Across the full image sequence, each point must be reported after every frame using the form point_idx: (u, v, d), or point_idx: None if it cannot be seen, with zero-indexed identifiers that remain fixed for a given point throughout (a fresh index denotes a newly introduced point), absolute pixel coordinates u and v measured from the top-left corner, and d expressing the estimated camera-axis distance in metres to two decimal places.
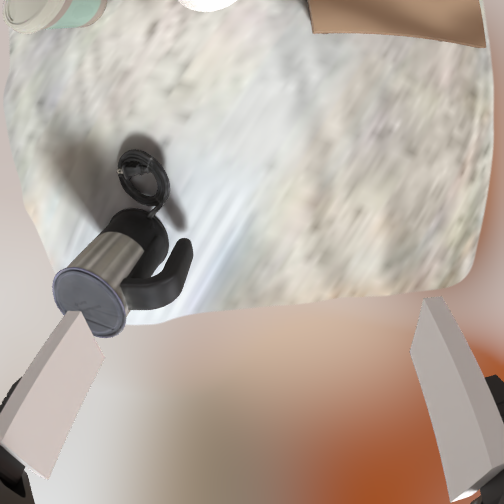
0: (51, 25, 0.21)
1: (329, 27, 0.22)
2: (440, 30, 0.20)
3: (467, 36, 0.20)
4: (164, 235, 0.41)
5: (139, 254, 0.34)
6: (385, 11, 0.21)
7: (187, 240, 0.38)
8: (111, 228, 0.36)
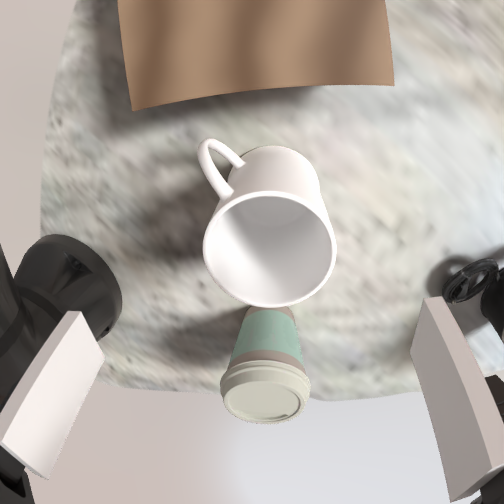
0: None
1: (388, 66, 0.17)
2: None
3: None
4: None
5: None
6: None
7: None
8: (500, 322, 0.29)
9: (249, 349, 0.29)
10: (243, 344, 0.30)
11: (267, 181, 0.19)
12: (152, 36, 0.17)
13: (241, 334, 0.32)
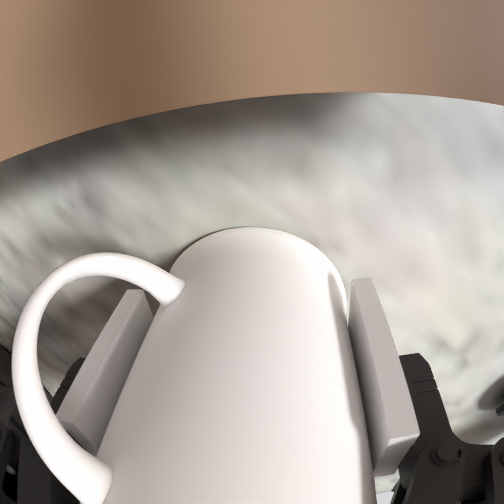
0: None
1: None
2: None
3: None
4: None
5: None
6: None
7: None
8: None
9: None
10: None
11: (201, 497, 0.04)
12: None
13: None
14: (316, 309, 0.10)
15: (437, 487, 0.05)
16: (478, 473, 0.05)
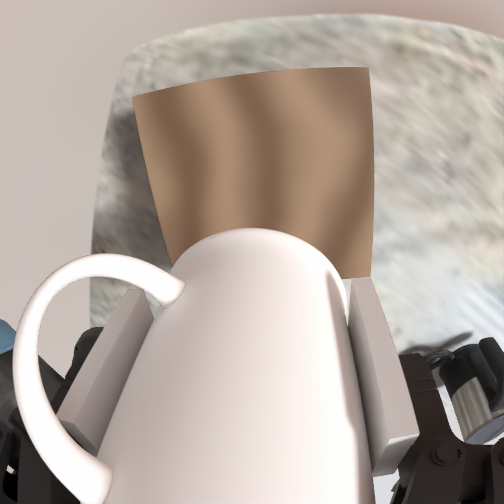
0: None
1: (367, 264, 0.28)
2: (362, 139, 0.22)
3: (360, 97, 0.21)
4: (469, 348, 0.41)
5: (477, 383, 0.35)
6: (348, 207, 0.25)
7: (482, 342, 0.36)
8: (450, 391, 0.39)
9: None
10: None
11: (200, 497, 0.04)
12: (189, 240, 0.28)
13: None
14: (316, 310, 0.10)
15: (436, 487, 0.05)
16: (477, 473, 0.05)
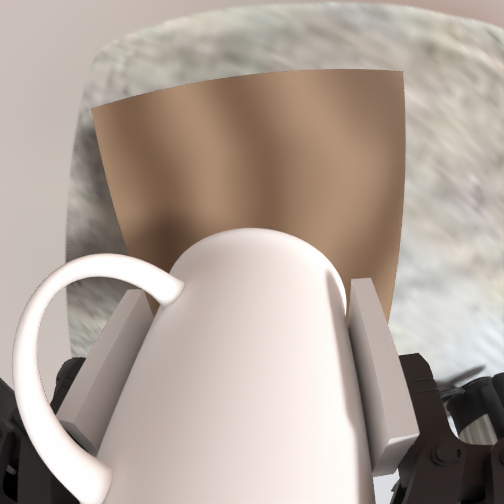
0: None
1: (385, 316, 0.22)
2: (391, 167, 0.17)
3: (391, 110, 0.15)
4: (481, 381, 0.35)
5: (488, 421, 0.30)
6: (367, 253, 0.20)
7: (495, 378, 0.31)
8: (458, 427, 0.34)
9: None
10: None
11: (200, 498, 0.04)
12: None
13: None
14: (316, 310, 0.10)
15: (436, 487, 0.05)
16: (477, 474, 0.05)
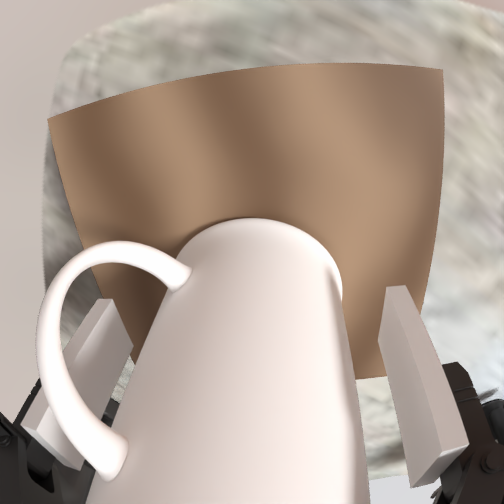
0: None
1: None
2: (424, 192, 0.13)
3: (428, 120, 0.11)
4: (491, 405, 0.31)
5: None
6: None
7: None
8: None
9: None
10: None
11: (211, 460, 0.05)
12: (149, 329, 0.18)
13: None
14: (314, 295, 0.11)
15: (482, 494, 0.04)
16: None
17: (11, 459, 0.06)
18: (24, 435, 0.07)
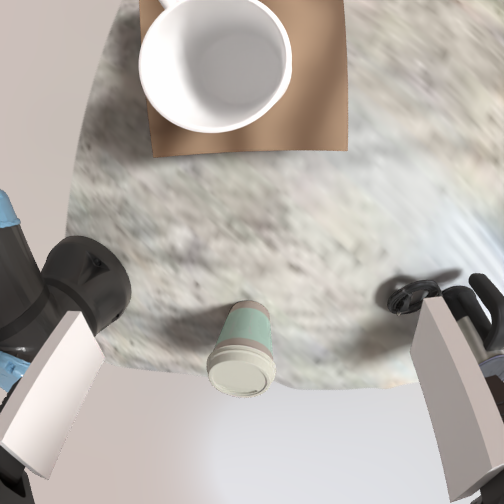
0: (272, 358, 0.39)
1: (344, 136, 0.26)
2: (334, 17, 0.21)
3: None
4: (458, 289, 0.40)
5: (469, 322, 0.35)
6: (322, 75, 0.24)
7: (472, 276, 0.36)
8: None
9: (230, 337, 0.38)
10: (226, 333, 0.39)
11: None
12: None
13: (225, 325, 0.42)
14: None
15: None
16: None
17: None
18: None
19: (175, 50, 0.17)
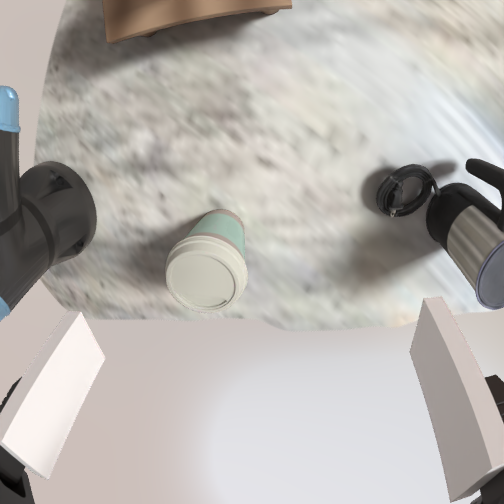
0: (243, 260, 0.34)
1: None
2: None
3: None
4: (457, 185, 0.35)
5: (476, 210, 0.29)
6: None
7: (468, 161, 0.30)
8: (444, 234, 0.33)
9: (191, 234, 0.33)
10: (189, 233, 0.34)
11: None
12: None
13: None
14: None
15: None
16: None
17: None
18: None
19: None
